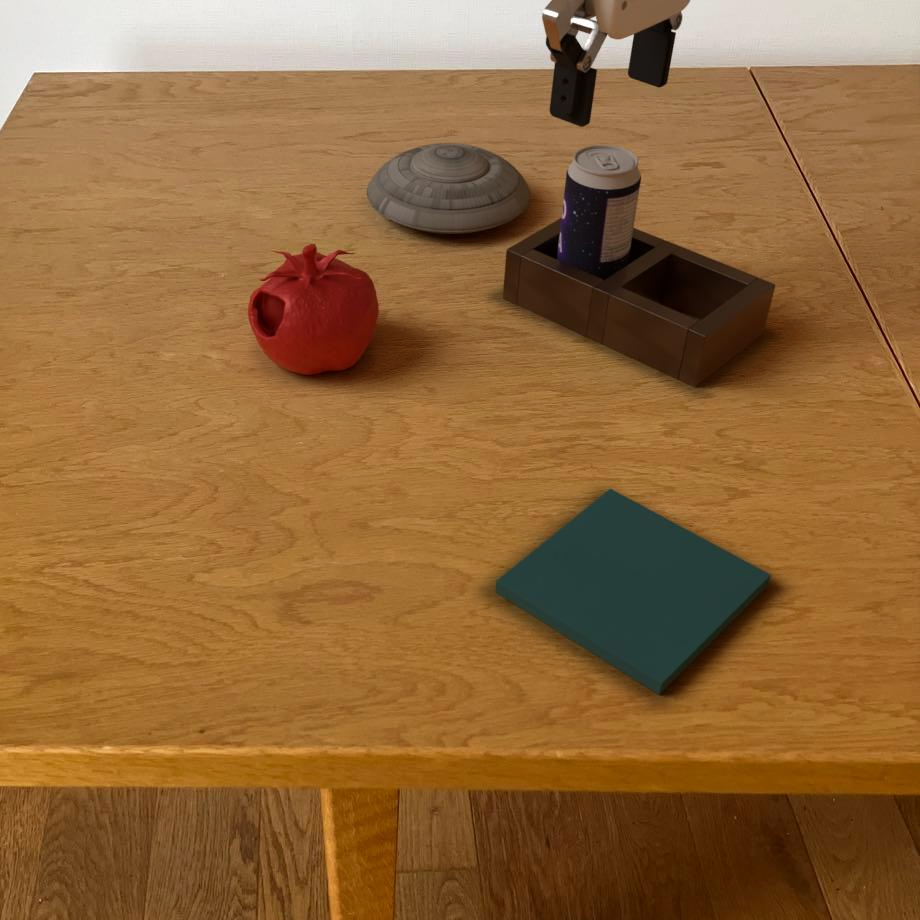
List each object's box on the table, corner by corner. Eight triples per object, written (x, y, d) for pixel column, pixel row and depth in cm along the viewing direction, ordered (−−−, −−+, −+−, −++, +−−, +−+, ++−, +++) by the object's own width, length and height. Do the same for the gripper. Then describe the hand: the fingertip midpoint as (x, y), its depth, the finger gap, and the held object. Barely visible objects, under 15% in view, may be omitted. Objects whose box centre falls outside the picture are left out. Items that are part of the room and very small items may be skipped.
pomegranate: (382, 318, 97) (383, 212, 90) (374, 390, 89) (374, 280, 83) (261, 313, 97) (252, 208, 91) (242, 385, 90) (232, 275, 83)
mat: (768, 586, 74) (771, 574, 73) (659, 695, 68) (662, 683, 67) (608, 499, 80) (610, 488, 79) (494, 592, 74) (495, 580, 73)
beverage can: (609, 276, 101) (629, 140, 93) (631, 311, 97) (654, 172, 89) (545, 282, 101) (559, 145, 93) (564, 318, 97) (580, 178, 88)
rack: (763, 334, 95) (776, 284, 92) (695, 387, 90) (706, 336, 87) (574, 253, 104) (580, 206, 101) (502, 298, 99) (506, 249, 96)
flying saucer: (338, 192, 113) (336, 136, 109) (472, 157, 118) (475, 103, 114) (420, 262, 103) (421, 203, 99) (561, 221, 109) (568, 164, 105)
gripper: (617, -127, 70) (580, 153, 81) (769, -176, 79) (716, 82, 91) (516, -151, 73) (494, 120, 85) (672, -195, 83) (633, 55, 94)
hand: (609, 100), depth 88 cm, fingers open, 9 cm apart
